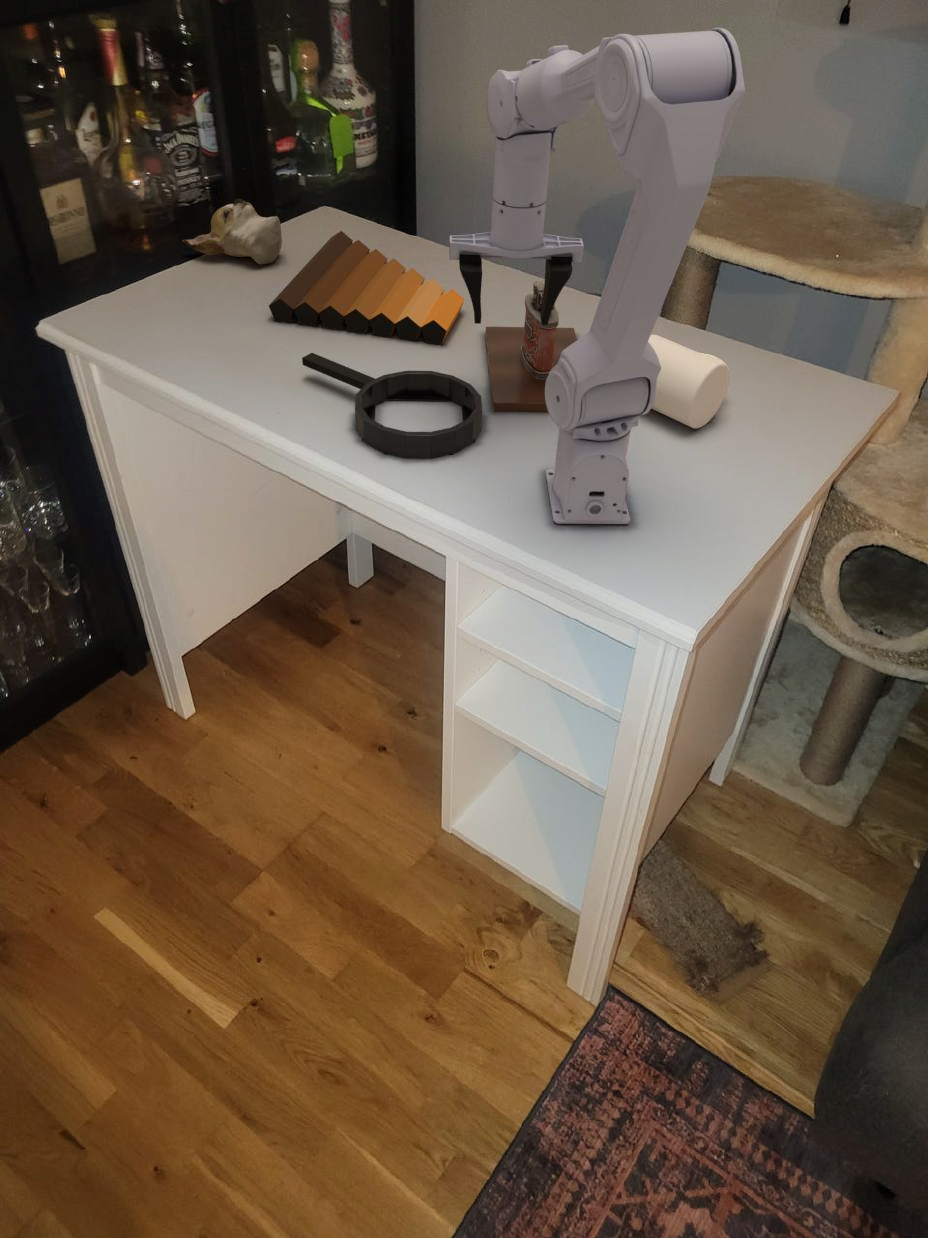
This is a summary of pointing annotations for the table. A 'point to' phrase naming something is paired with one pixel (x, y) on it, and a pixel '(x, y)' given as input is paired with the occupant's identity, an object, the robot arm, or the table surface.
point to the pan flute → (366, 295)
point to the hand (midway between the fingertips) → (510, 320)
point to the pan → (407, 389)
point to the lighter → (538, 335)
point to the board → (518, 369)
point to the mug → (688, 383)
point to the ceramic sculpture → (241, 234)
